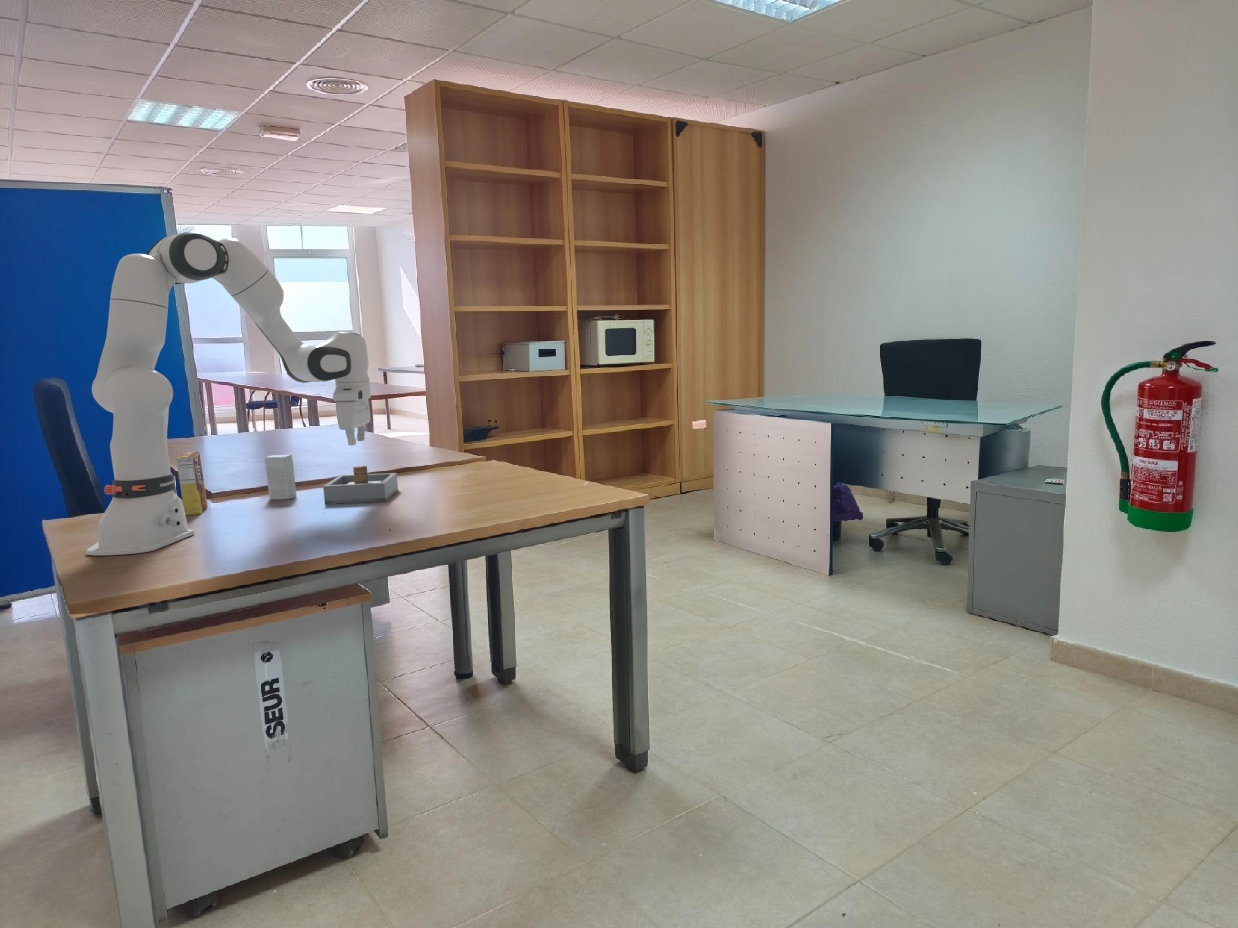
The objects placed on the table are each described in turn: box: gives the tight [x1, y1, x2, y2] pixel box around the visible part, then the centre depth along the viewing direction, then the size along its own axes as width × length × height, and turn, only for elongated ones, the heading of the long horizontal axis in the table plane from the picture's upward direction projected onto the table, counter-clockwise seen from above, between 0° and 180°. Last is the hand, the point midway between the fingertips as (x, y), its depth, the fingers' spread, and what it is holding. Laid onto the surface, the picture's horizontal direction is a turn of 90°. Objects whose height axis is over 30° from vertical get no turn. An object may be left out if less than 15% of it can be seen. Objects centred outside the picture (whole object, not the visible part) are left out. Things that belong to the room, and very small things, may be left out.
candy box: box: [175, 451, 208, 516], centre depth 207 cm, size 9×4×15 cm, turn 17°
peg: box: [352, 465, 369, 484], centre depth 219 cm, size 4×4×8 cm
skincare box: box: [264, 454, 297, 501], centre depth 222 cm, size 6×4×12 cm
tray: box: [322, 472, 399, 505], centre depth 220 cm, size 16×16×5 cm
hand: (356, 443), depth 217 cm, fingers open, 8 cm apart
